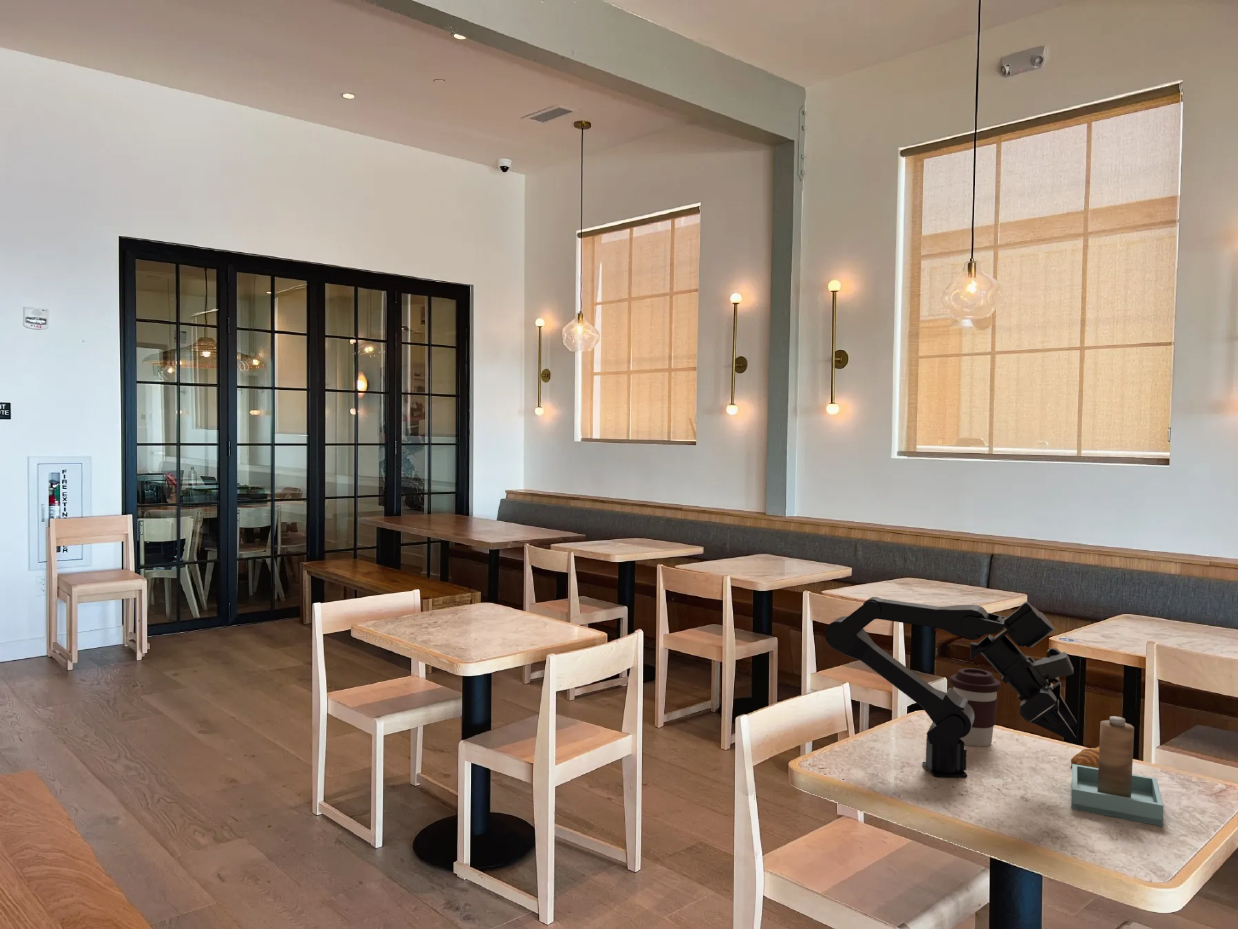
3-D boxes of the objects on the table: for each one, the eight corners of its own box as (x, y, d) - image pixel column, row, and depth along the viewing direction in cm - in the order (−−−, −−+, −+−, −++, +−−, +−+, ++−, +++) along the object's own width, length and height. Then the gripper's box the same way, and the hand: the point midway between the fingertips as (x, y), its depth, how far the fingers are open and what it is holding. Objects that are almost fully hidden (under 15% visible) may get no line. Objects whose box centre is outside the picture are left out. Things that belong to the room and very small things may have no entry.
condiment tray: (1071, 808, 152) (1072, 789, 151) (1071, 782, 164) (1072, 764, 163) (1162, 826, 145) (1163, 805, 145) (1156, 797, 157) (1156, 778, 157)
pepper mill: (1119, 805, 151) (1122, 725, 150) (1090, 794, 155) (1094, 716, 155) (1137, 800, 153) (1140, 721, 153) (1108, 789, 158) (1112, 712, 157)
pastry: (1091, 778, 166) (1092, 758, 166) (1060, 766, 173) (1061, 747, 173) (1124, 771, 170) (1124, 752, 170) (1092, 759, 177) (1093, 741, 176)
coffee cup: (993, 753, 178) (996, 681, 178) (943, 743, 184) (945, 673, 183) (1002, 739, 187) (1004, 670, 186) (954, 730, 192) (956, 663, 192)
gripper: (1043, 647, 151) (1113, 721, 146) (1048, 627, 167) (1111, 693, 162) (992, 685, 155) (1059, 758, 150) (1002, 661, 171) (1062, 726, 166)
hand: (1074, 732), depth 157 cm, fingers open, 9 cm apart
